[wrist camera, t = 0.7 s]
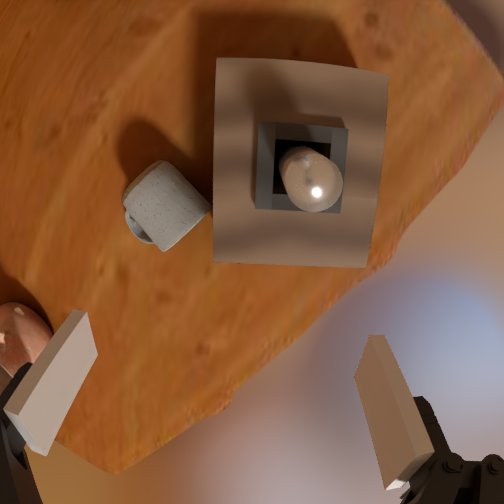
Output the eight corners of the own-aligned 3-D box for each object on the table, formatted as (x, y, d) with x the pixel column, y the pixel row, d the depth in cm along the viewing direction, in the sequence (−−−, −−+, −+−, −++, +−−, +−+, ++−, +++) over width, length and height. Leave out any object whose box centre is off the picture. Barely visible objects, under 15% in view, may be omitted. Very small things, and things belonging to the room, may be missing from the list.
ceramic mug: (170, 151, 36) (148, 160, 29) (217, 199, 39) (206, 219, 32) (117, 209, 39) (90, 229, 32) (160, 252, 42) (141, 280, 35)
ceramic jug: (3, 276, 44) (-45, 320, 31) (66, 313, 46) (22, 369, 33) (7, 342, 51) (-27, 385, 38) (61, 375, 53) (32, 426, 40)
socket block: (225, 70, 32) (215, 55, 24) (363, 81, 32) (392, 73, 24) (221, 234, 40) (212, 266, 32) (347, 240, 40) (368, 272, 32)
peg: (279, 143, 29) (287, 153, 21) (322, 146, 29) (345, 158, 21) (277, 185, 30) (283, 210, 22) (318, 187, 30) (339, 213, 22)
